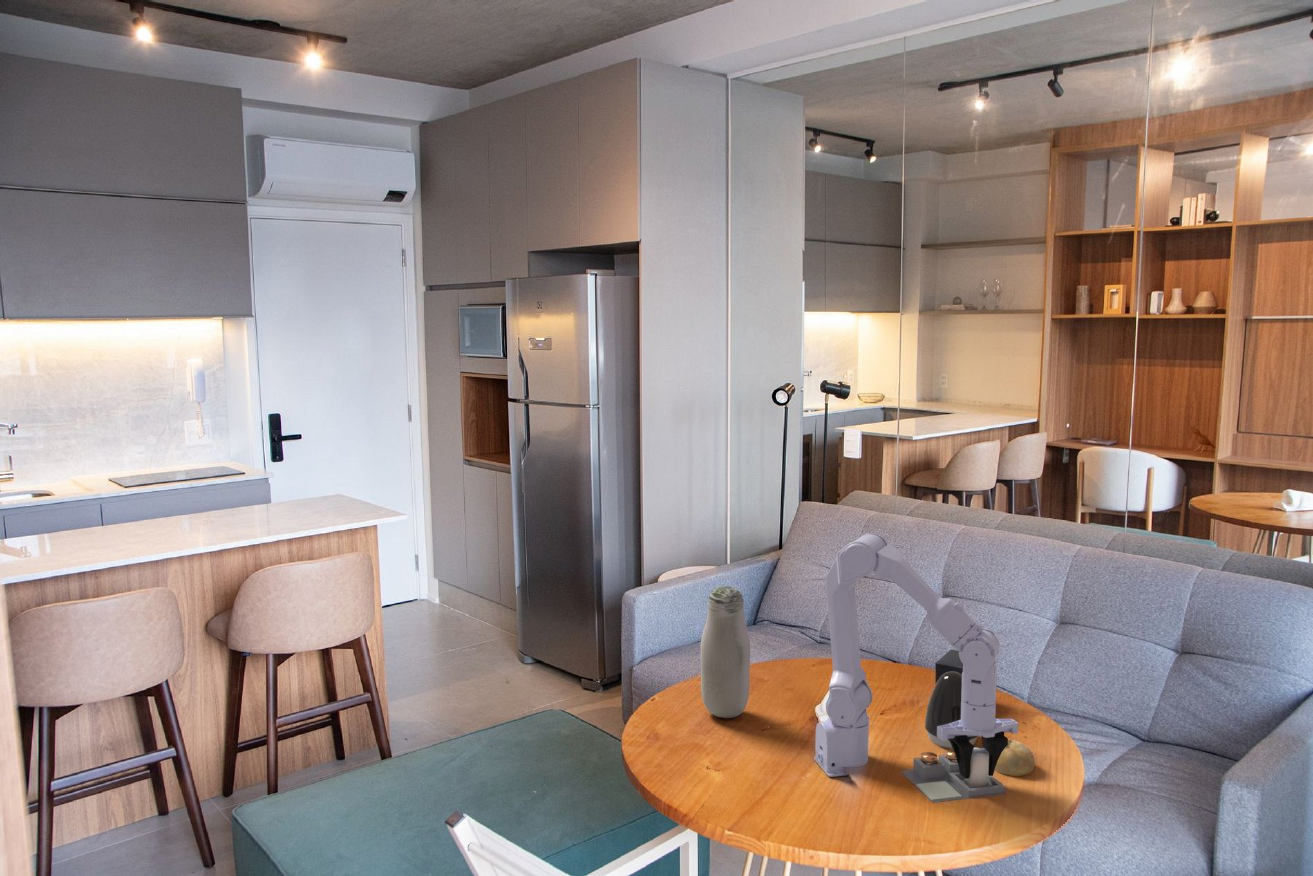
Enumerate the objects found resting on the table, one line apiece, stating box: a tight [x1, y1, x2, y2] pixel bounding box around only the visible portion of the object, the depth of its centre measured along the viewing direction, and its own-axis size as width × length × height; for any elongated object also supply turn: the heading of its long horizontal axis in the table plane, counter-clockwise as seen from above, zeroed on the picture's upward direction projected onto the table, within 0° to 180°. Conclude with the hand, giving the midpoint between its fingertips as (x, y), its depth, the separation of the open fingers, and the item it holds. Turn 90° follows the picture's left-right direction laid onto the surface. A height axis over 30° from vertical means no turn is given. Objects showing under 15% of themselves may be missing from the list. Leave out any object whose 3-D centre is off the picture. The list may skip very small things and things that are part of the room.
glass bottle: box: [700, 585, 751, 719], centre depth 199 cm, size 10×10×28 cm
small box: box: [934, 649, 963, 686], centre depth 205 cm, size 11×6×10 cm, turn 144°
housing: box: [899, 753, 1008, 804], centre depth 166 cm, size 14×12×4 cm
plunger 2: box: [945, 749, 957, 762], centre depth 170 cm, size 3×3×3 cm
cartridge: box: [964, 747, 989, 788], centre depth 165 cm, size 4×4×6 cm
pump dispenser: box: [924, 671, 978, 750], centre depth 183 cm, size 10×10×15 cm
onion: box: [994, 738, 1036, 777], centre depth 172 cm, size 8×8×7 cm
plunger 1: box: [920, 751, 938, 765], centre depth 169 cm, size 3×3×3 cm
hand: (976, 774), depth 165 cm, fingers closed on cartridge, 4 cm apart
